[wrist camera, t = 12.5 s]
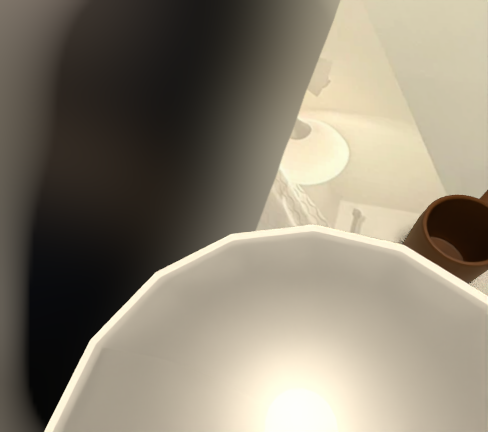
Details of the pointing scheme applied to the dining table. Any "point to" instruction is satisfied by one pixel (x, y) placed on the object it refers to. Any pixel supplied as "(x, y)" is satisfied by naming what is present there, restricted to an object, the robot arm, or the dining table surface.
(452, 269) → the mug
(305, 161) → the dining table surface
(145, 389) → the cup
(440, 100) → the dining table surface
